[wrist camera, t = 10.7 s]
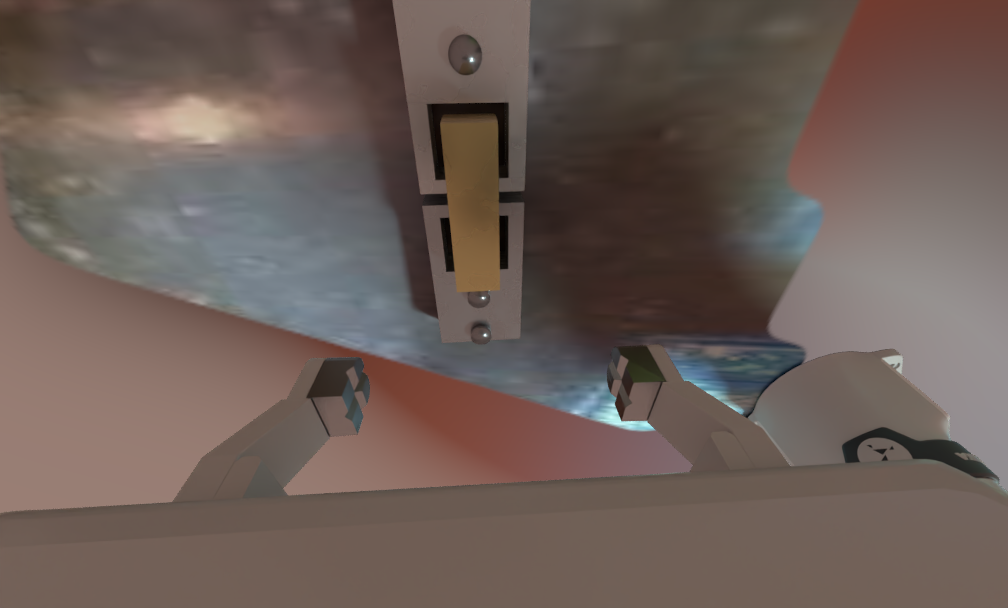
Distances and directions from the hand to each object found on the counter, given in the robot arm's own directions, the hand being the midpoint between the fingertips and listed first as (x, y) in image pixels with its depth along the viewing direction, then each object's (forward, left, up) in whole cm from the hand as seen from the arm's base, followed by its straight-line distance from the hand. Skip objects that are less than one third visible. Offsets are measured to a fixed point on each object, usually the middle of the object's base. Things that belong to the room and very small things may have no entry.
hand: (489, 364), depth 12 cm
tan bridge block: (0, 0, -19) cm, 19 cm away
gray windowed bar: (0, 0, -19) cm, 19 cm away
